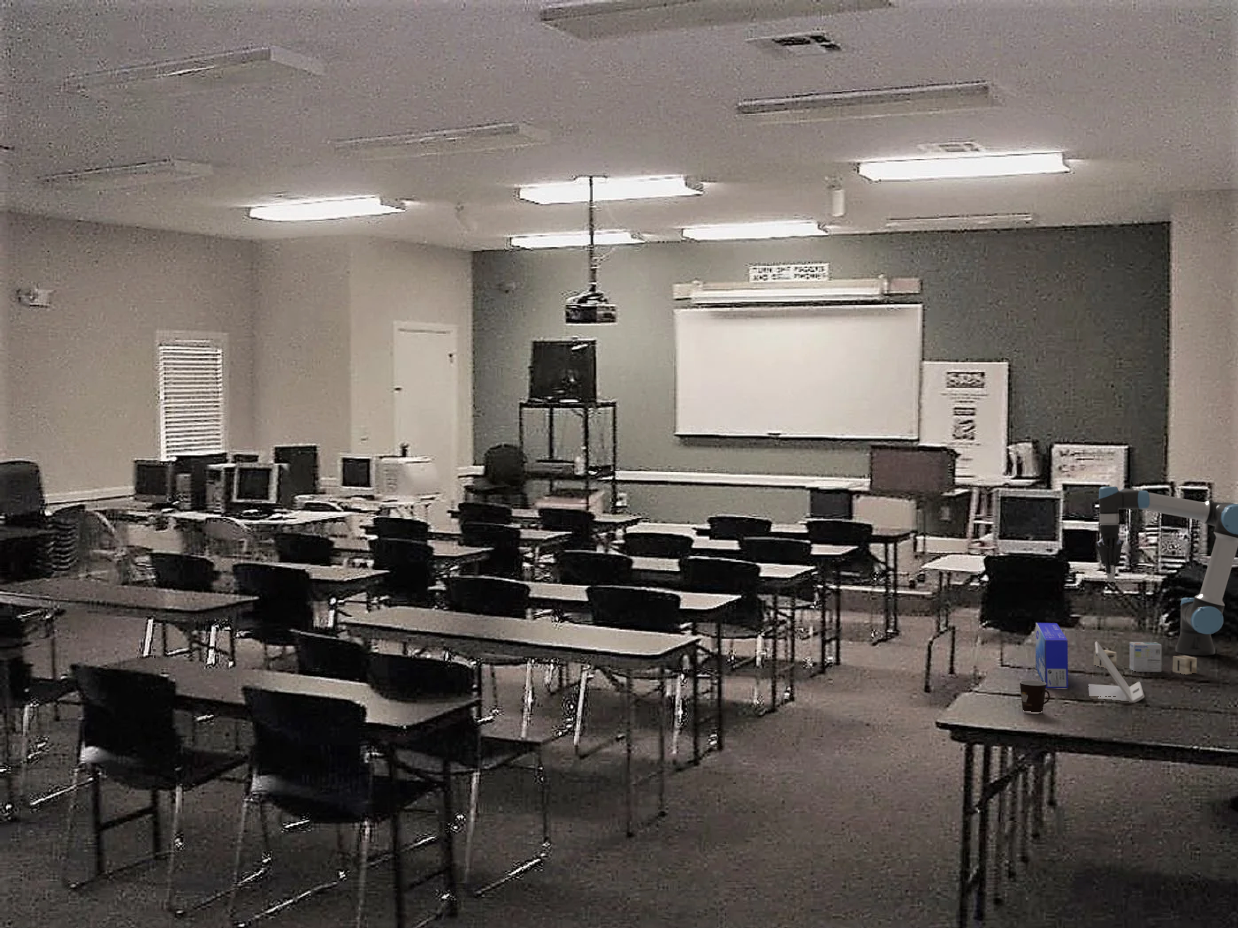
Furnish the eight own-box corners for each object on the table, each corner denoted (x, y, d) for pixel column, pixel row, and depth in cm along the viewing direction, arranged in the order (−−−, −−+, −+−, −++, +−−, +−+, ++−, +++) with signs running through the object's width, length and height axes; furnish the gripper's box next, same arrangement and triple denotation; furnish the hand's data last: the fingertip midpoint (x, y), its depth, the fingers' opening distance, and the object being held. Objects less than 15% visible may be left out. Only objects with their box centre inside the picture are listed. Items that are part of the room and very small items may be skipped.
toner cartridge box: (1034, 669, 527) (1035, 622, 526) (1057, 669, 525) (1057, 622, 524) (1044, 689, 489) (1044, 638, 488) (1068, 690, 487) (1069, 639, 486)
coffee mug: (1016, 709, 455) (1016, 679, 455) (1041, 709, 455) (1042, 680, 454) (1025, 717, 443) (1026, 687, 443) (1051, 717, 443) (1052, 687, 443)
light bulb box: (1156, 668, 527) (1157, 641, 527) (1162, 672, 520) (1162, 644, 520) (1128, 668, 528) (1129, 641, 527) (1133, 671, 521) (1134, 644, 521)
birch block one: (1184, 670, 524) (1184, 655, 524) (1196, 673, 518) (1197, 658, 518) (1172, 671, 522) (1172, 656, 521) (1184, 674, 516) (1184, 659, 516)
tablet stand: (1089, 700, 471) (1090, 651, 470) (1088, 686, 495) (1088, 640, 494) (1144, 703, 466) (1145, 654, 465) (1140, 689, 489) (1141, 642, 489)
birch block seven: (1105, 664, 536) (1105, 649, 535) (1116, 667, 530) (1116, 652, 530) (1093, 665, 533) (1093, 650, 533) (1104, 668, 528) (1104, 653, 527)
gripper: (1115, 522, 559) (1116, 579, 560) (1090, 524, 554) (1092, 581, 554) (1128, 523, 552) (1130, 580, 553) (1103, 525, 547) (1105, 583, 548)
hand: (1111, 581), depth 554 cm, fingers closed
